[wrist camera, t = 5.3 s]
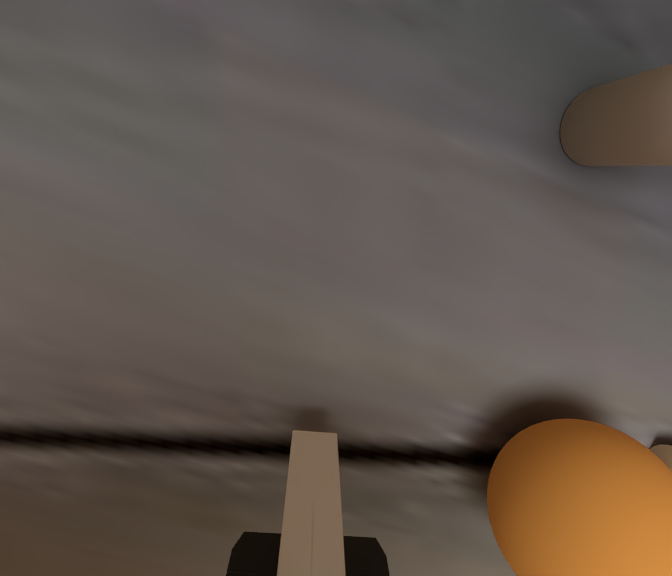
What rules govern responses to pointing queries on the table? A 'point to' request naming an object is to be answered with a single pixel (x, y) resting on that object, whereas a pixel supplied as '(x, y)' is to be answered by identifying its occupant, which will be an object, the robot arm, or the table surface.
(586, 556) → the ball
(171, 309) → the table surface
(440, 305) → the table surface
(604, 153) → the beige tapered peg
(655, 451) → the cream pin
